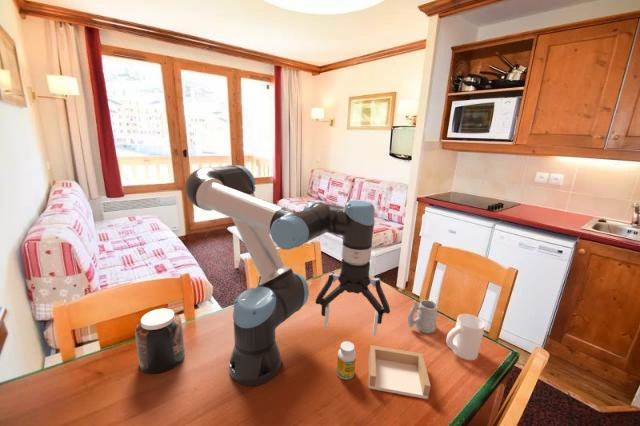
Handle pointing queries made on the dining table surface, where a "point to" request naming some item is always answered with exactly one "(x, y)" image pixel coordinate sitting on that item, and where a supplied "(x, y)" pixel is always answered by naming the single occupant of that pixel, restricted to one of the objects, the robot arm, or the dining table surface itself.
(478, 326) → the mug
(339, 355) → the supplement bottle
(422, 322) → the mug
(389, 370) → the u rest
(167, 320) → the jar
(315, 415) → the dining table surface
